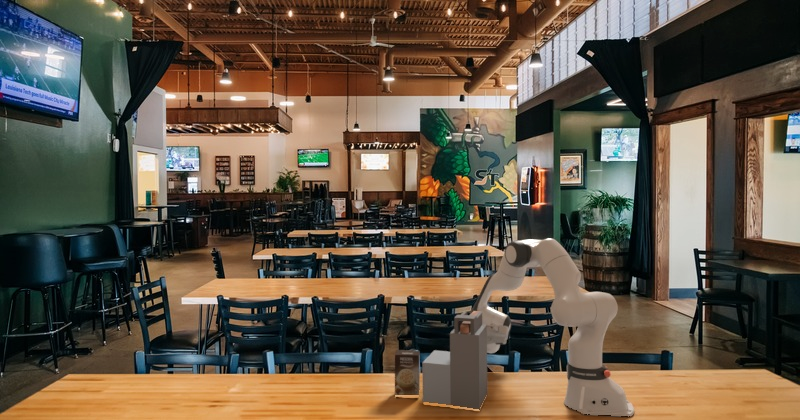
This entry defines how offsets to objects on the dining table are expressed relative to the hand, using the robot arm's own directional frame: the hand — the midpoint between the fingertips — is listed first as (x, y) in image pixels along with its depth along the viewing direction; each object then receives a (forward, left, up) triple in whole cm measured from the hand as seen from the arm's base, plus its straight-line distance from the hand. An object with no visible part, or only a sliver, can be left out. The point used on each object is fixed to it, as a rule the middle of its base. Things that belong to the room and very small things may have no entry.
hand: (480, 324), depth 205 cm
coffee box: (+23, +23, -23) cm, 40 cm away
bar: (0, +17, +3) cm, 17 cm away
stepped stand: (+5, +22, -23) cm, 32 cm away
